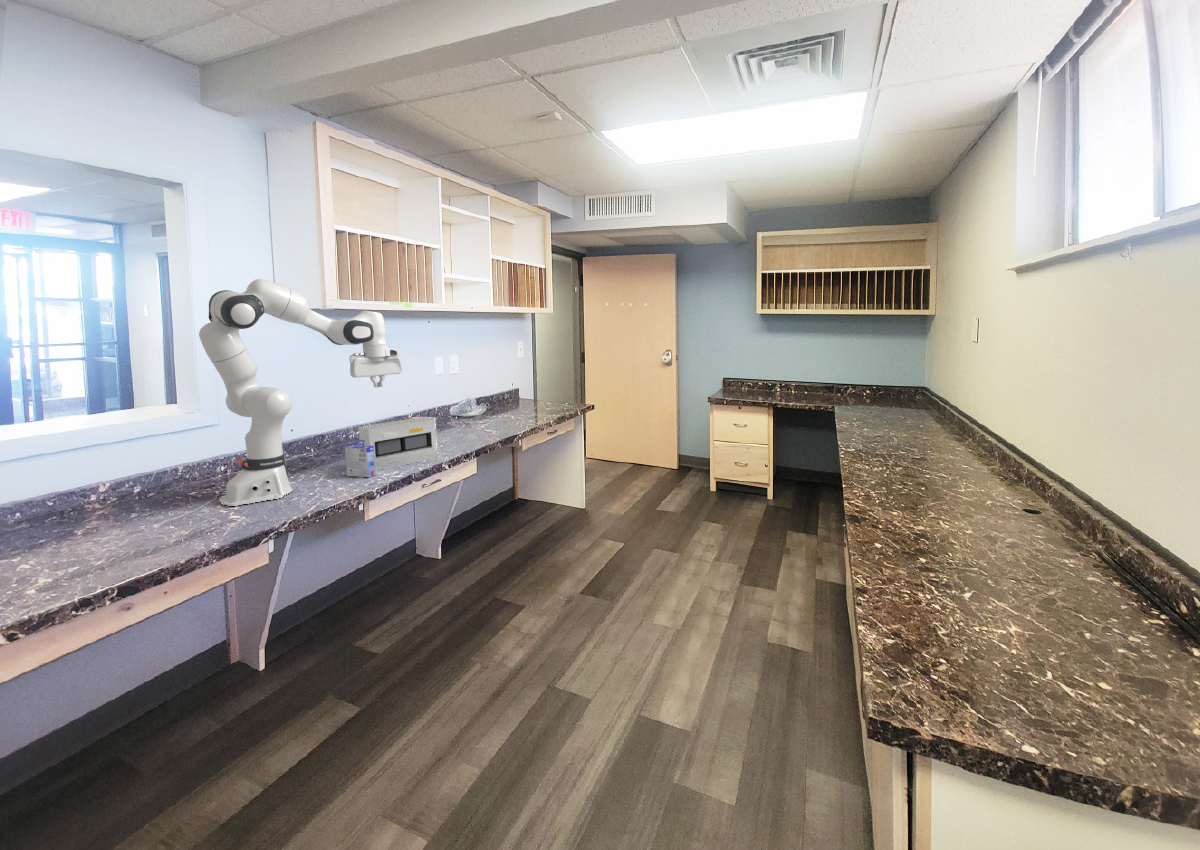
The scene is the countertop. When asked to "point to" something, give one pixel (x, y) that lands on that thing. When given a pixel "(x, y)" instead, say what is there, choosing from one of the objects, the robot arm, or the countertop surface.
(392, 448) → the button
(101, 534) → the countertop surface
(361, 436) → the metal drawer cabinet
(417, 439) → the button
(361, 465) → the ink cartridge box
